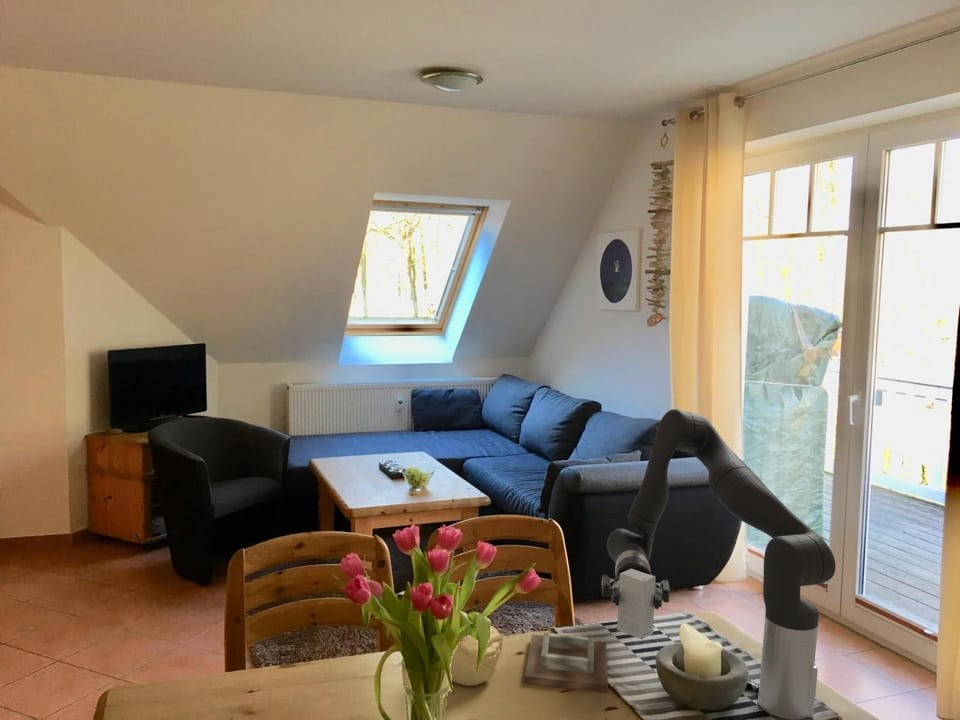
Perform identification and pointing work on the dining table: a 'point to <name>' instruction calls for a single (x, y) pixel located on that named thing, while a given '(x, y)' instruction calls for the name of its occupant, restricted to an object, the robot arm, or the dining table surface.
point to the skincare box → (636, 603)
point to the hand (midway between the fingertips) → (637, 602)
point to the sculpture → (475, 660)
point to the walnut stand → (567, 662)
